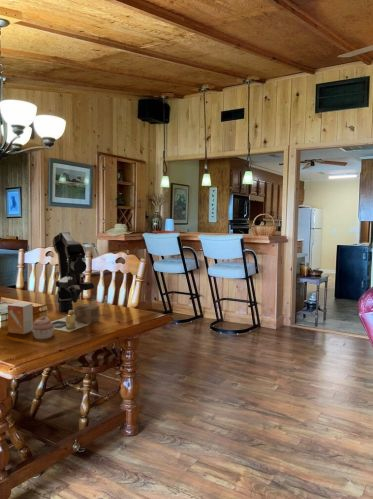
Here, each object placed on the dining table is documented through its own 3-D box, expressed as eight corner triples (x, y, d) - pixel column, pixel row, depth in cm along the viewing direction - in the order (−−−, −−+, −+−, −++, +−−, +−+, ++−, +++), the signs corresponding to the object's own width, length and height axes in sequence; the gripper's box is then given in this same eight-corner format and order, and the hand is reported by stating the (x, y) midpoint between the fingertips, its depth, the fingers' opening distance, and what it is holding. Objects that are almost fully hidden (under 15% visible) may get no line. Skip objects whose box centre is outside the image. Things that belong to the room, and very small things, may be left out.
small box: (7, 335, 174) (6, 304, 173) (18, 330, 180) (17, 301, 179) (23, 337, 172) (22, 306, 171) (33, 332, 178) (32, 303, 177)
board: (38, 328, 184) (38, 317, 183) (69, 318, 202) (69, 307, 201) (69, 334, 176) (69, 322, 175) (99, 323, 194) (98, 312, 193)
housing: (75, 321, 190) (75, 307, 190) (85, 318, 197) (85, 304, 196) (89, 323, 187) (89, 309, 186) (99, 320, 193) (99, 305, 192)
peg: (64, 328, 180) (63, 315, 179) (70, 326, 183) (70, 313, 183) (71, 330, 178) (70, 316, 178) (77, 327, 182) (77, 314, 181)
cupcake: (32, 344, 163) (31, 319, 162) (30, 337, 172) (30, 313, 171) (56, 341, 167) (56, 317, 166) (54, 334, 175) (53, 311, 174)
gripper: (46, 270, 189) (47, 303, 191) (78, 273, 181) (79, 308, 183) (63, 267, 199) (64, 299, 201) (94, 270, 191) (95, 303, 193)
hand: (74, 302), depth 194 cm, fingers closed
